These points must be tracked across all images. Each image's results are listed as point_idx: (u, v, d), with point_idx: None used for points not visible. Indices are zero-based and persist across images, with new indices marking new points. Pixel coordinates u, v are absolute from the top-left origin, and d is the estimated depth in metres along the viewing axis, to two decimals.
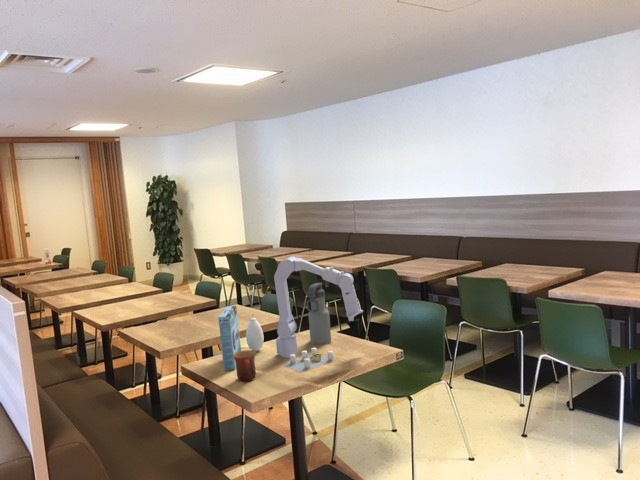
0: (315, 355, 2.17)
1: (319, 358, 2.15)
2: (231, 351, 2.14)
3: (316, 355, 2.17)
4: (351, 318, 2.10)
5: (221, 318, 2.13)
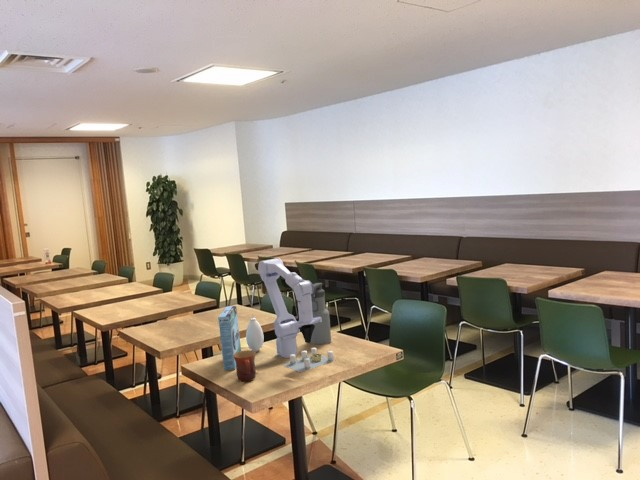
0: (315, 355, 2.17)
1: (319, 358, 2.15)
2: (231, 351, 2.14)
3: (316, 355, 2.17)
4: (291, 326, 2.09)
5: (221, 318, 2.13)
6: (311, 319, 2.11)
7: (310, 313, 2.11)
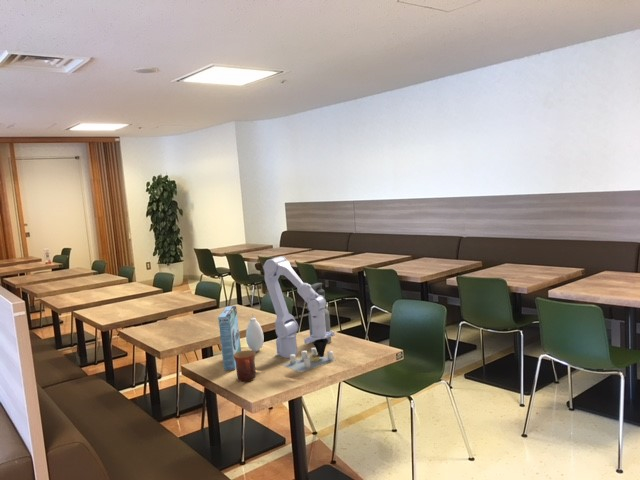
0: (313, 355, 2.16)
1: (317, 358, 2.15)
2: (231, 351, 2.14)
3: (314, 355, 2.16)
4: (306, 341, 2.13)
5: (221, 318, 2.13)
6: (324, 333, 2.16)
7: (323, 328, 2.15)
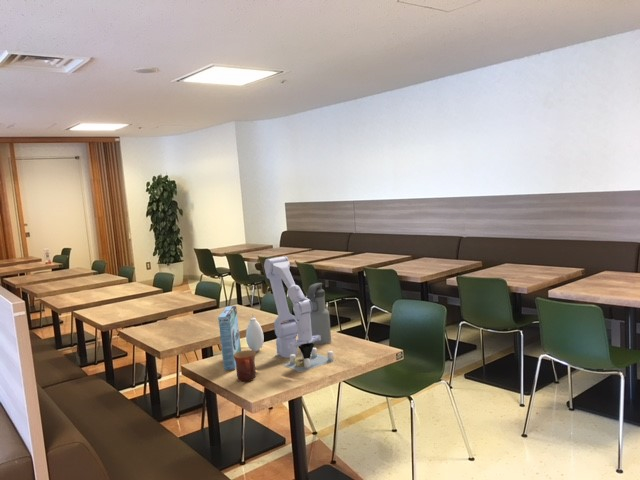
0: (299, 360, 2.12)
1: (303, 363, 2.11)
2: (231, 351, 2.14)
3: (300, 360, 2.12)
4: (291, 345, 2.09)
5: (221, 318, 2.13)
6: (310, 338, 2.11)
7: (309, 332, 2.11)
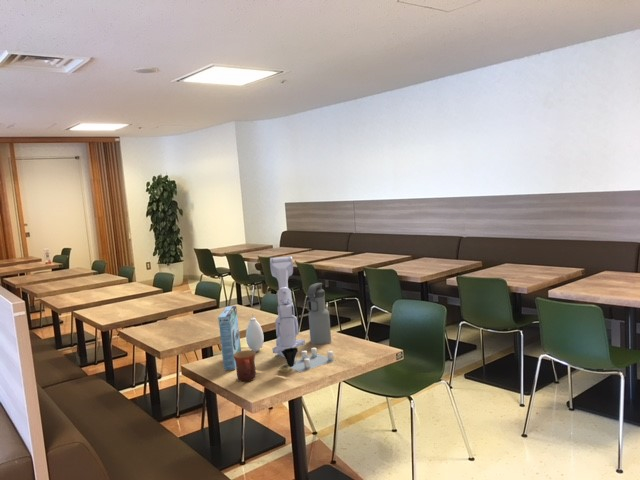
0: (283, 366, 2.08)
1: (286, 370, 2.06)
2: (231, 351, 2.14)
3: (284, 366, 2.08)
4: (274, 350, 2.04)
5: (221, 318, 2.13)
6: (294, 342, 2.07)
7: (293, 336, 2.06)
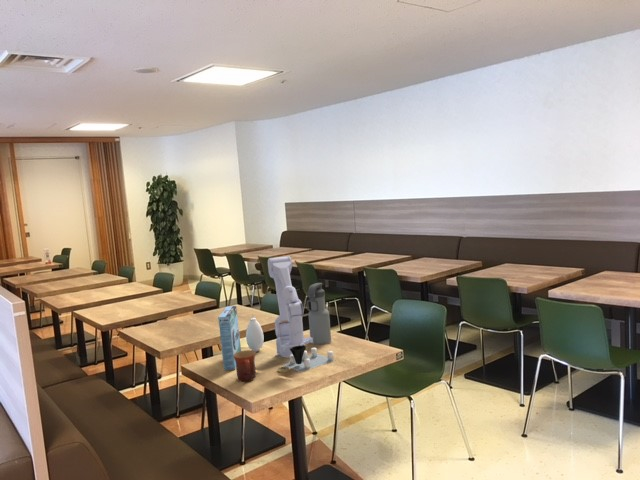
0: (282, 368, 2.08)
1: (284, 371, 2.06)
2: (231, 351, 2.14)
3: (283, 368, 2.07)
4: (282, 348, 2.06)
5: (221, 318, 2.13)
6: (302, 340, 2.09)
7: (301, 334, 2.08)
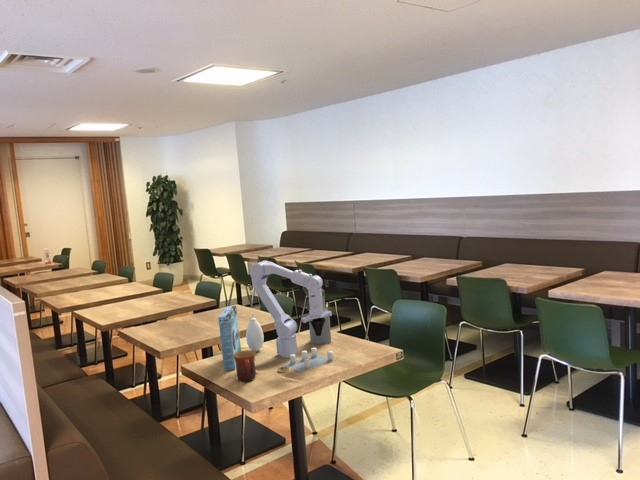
0: (282, 368, 2.08)
1: (284, 371, 2.06)
2: (231, 351, 2.14)
3: (283, 368, 2.07)
4: (303, 320, 2.15)
5: (221, 318, 2.13)
6: (322, 313, 2.18)
7: (321, 307, 2.18)
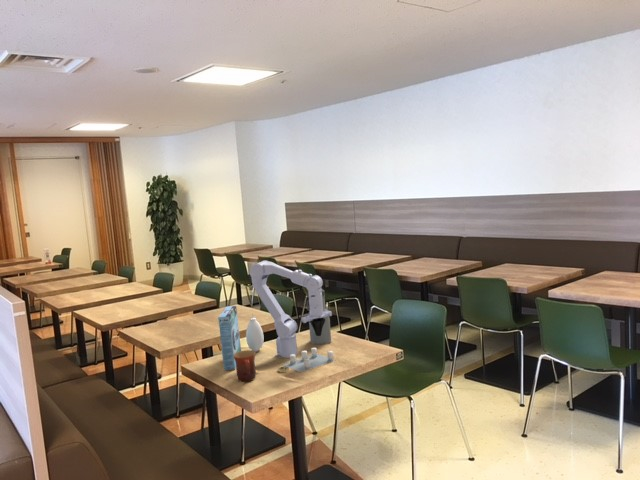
0: (282, 368, 2.08)
1: (284, 371, 2.06)
2: (231, 351, 2.14)
3: (283, 368, 2.07)
4: (303, 320, 2.15)
5: (221, 318, 2.13)
6: (322, 313, 2.18)
7: (321, 307, 2.18)
